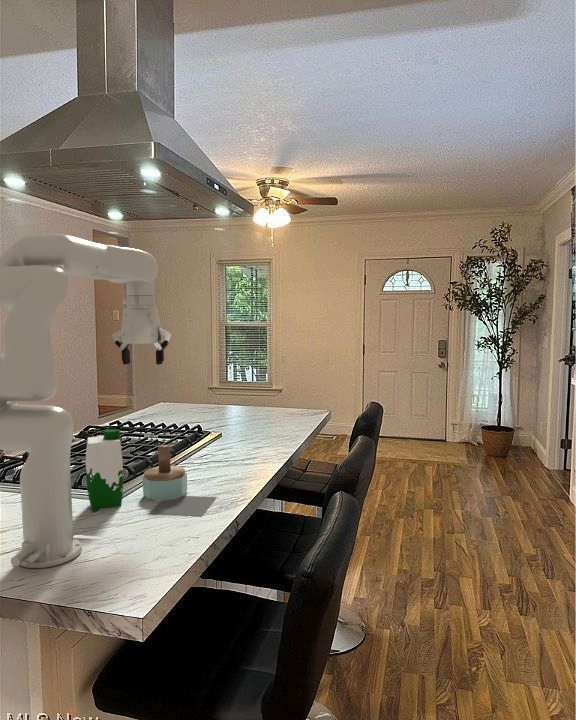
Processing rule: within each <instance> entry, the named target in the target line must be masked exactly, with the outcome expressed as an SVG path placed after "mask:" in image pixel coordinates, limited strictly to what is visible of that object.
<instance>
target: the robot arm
mask: <svg viewBox="0 0 576 720" xmlns="http://www.w3.org/2000/svg"><path fill="white" fill-rule="evenodd" d="M158 272H159V266H158V262H157V260H156V258H155V257H154V256H153V255H152V254H151V253H150V252H148V251H147V252H146V251H143V250H141V249H135V248H130V247H125V246H123V247H122V246H117V245H116V246H115V245H112V244H111V245H110V244H102V243H98V242H93V241H90V240H86V239H83V238H80V237H76V236H72V235H70V234H69V235H68V234H63V233H49V234H31V235H30V234H29V235H26V236H23V237H21V238H19V239H18V240H16V242H14V243H13V244H12V245H11V246H10V247H8V248H7V249H6V250H5V251H4V252H3V253H2V254H1V256H0V309H10V310H9V312H8V314H7V316H6V317H5V320H4V322H3V326H2V332H1V333H2V334H1V337H2V344H3V349H4V350H3V351H4V353H1V354H0V450H2V451H14V452H25V453H28V457H27V459H26V460H25V462H24V464H23V466H22V468H21V469H20V470H21V471H20V473H19V484H20V499H21V500H20V502H21V519H22V537H23V541H22V542H21V548H20V549H19V550H18V551H17V552H16V555H14V556H12V558H11V559H10V563H11V566H13V567H17V566H21V567H23V568H29V569H44V568H52V567H55V566H59V565H62V564H65V563H67V562H70V561H72V560H73V559H75V558H77V556H79V555H80V553H81V552H82V550H83V547H82V546H83V545H82V542H81V541H80V540H78V539H76V538H74V525H73V524H74V523H73V522H74V520H73V503H72V501H73V500H72V499H73V498H72V481H71V479H72V478H71V450H72V442H73V438H74V437H73V436H74V427H75V426H74V424H75V423H74V419H73V417H72V416H71V414H70V413H69V412H68V411H67V410H65V409H64V408H62V407H59V406H56V405H45V404H44V405H43V404H19V402H23V403H24V402H25V403H26V402H28V403H30V402H31V403H33V402H43V401H44V402H45V401H47V400H50V399H52V398H53V396H54V395H55V394H56V393H57V390H58V374H57V367H56V363H55V356H54V352H53V351H54V350H53V345H52V337H51V325H52V322H53V319H54V316H55V314H56V312H57V311H58V309H59V308H60V306H61V305H62V304H63V302H64V300H65V298H66V296H67V295H68V292H69V286H70V285H69V284H70V283H69V278H68V276H71V277H72V276H73V277H79V278H84V279H88V280H89V279H91V280H107V281H109V282H111V283H112V284H113V283H114V284H125V287H126V290H125V291H126V296H125V298H122V300H121V301H122V304H123V305H125V306H126V307H124V308H123V311H122V319H121V329H119V330H118V331H116V332H114V333H112V335H111V338H112V339H113V342H114V344H115V345H116V346H117V347H118V348H119V350H120V352H121V361H122V365H128V364H129V365H130V364H131V353H130V352H131V351H130V350H131V349H129V347H130V346H131V345H132V344H133V345H138V344H139V345H141V344H142V345H143V344H144V345H145V344H147V345H148V344H153V345H154V347H155V348H156V350H155V364H156V365H158V366H159V365H163V362H164V361H165V354H164V352H165V351H164V350H166V347H168V346H169V345H170V342H171V341H172V340H171V339H172V338H173V333H171V332H169V331H167V330H165V329H163V328H162V327H161V321H160V319H161V318H160V315H159V311H158V310H159V309H158V307H156V302H155V301H156V300H155V299H156V296H155V279H156V278H157V277H158ZM162 336H164V337H165V338H164V340H163V341H161V340H162ZM120 337H121V339H120Z"/></svg>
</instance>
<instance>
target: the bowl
mask: <svg viewBox="0 0 576 720" xmlns="http://www.w3.org/2000/svg"><path fill="white" fill-rule="evenodd" d="M187 491H188V472H187V471H185V475H184V476H183V477H181V478H178V479H174V480H168V481H152V480H148V479H146V478H145V477H144V475H143V476H142V494H143V495H144V497H145V498H146V499H147V500H149V501H155V502H161V501H166V500H173V499H177V498H180V497H182V496H186V493H187Z"/></svg>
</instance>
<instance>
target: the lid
mask: <svg viewBox="0 0 576 720" xmlns="http://www.w3.org/2000/svg"><path fill="white" fill-rule="evenodd" d="M157 453H158V454H157V456H158V457H157V458H158V466H155V467H151V468H149V469H145V471H144V472H143V474H144V475H143V476H144V477H145V478H146V479H148V480H152V481H168V480H174V479H178V478H181V477H183V476H184V475H185V472H186V469H185V468H184V467H183V466H179V465H172V463H171V445H169V444H160V445H158V447H157Z"/></svg>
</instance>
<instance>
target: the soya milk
mask: <svg viewBox="0 0 576 720" xmlns="http://www.w3.org/2000/svg"><path fill="white" fill-rule="evenodd" d="M86 441H87V442H86V449H85V450H86V452H85V473H86V474H85V477H86V478H85V479H86V489H87V491H86V492H87V495H88V501H89V504H90V508H91V512H92V513H94V512H99V511H100V510H102V509H110V508H118V507H122V501H123V493H124V474H123V473H124V471H123V470H124V469H123V468H124V467H123V454H122V453H123V452H122V442H121V441H122V438H121V433H120V429H119V428H110V429H109V428H107V429H105V430H103V435H97V436H90V437H89V436H88V437H87V440H86Z"/></svg>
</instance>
